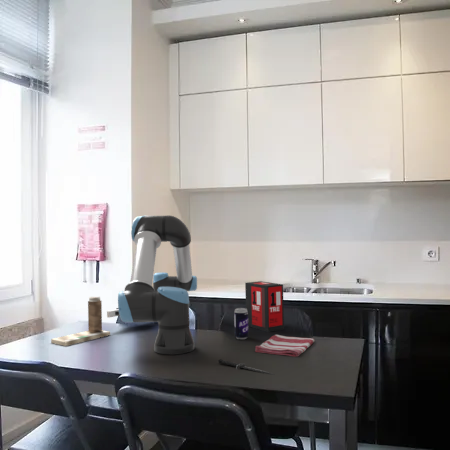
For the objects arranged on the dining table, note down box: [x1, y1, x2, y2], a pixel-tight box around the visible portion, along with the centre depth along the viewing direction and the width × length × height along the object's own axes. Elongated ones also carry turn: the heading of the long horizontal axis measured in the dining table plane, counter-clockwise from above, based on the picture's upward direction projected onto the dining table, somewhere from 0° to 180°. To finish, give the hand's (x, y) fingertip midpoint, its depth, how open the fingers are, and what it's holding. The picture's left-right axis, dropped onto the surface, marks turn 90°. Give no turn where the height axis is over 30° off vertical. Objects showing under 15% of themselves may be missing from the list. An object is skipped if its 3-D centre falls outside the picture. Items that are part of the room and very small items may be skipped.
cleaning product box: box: [244, 280, 285, 333], centre depth 209 cm, size 16×9×20 cm, turn 33°
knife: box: [218, 358, 275, 376], centre depth 147 cm, size 25×2×5 cm
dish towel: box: [254, 334, 316, 358], centre depth 174 cm, size 17×23×3 cm
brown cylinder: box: [87, 296, 103, 333], centre depth 198 cm, size 5×7×15 cm, turn 53°
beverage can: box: [233, 307, 249, 340], centre depth 189 cm, size 6×6×12 cm
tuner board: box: [50, 329, 111, 347], centre depth 193 cm, size 22×10×2 cm, turn 143°
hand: (108, 314), depth 205 cm, fingers closed
